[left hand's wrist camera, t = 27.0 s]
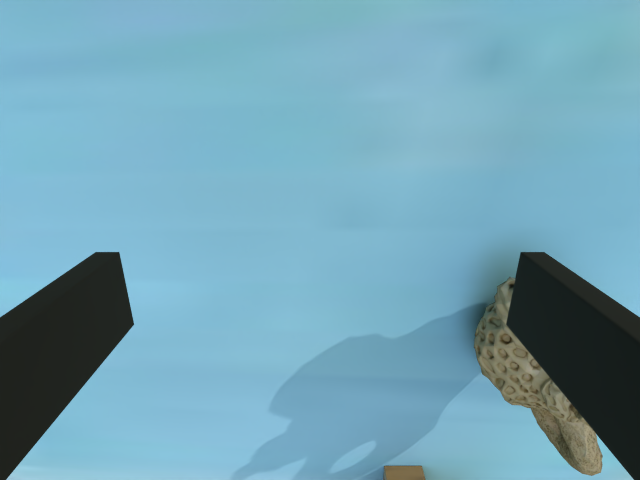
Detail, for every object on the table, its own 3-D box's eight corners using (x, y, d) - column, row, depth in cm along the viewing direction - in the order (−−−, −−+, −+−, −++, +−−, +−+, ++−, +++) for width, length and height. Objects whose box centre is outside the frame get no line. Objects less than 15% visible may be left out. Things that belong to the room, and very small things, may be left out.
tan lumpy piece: (436, 269, 42) (494, 355, 28) (538, 229, 41) (654, 299, 26) (487, 404, 49) (554, 527, 35) (576, 375, 47) (684, 491, 33)
